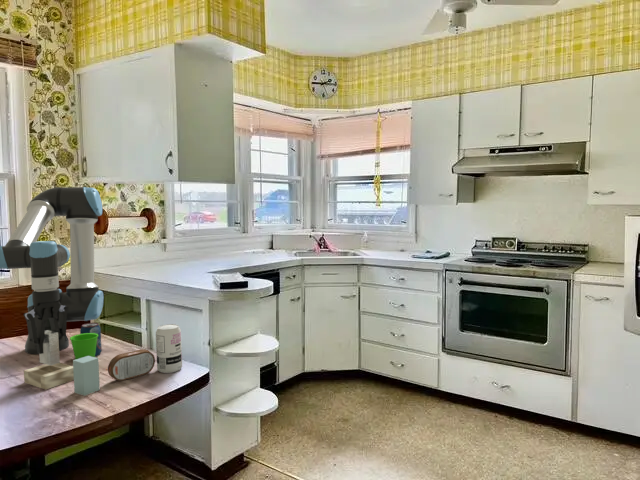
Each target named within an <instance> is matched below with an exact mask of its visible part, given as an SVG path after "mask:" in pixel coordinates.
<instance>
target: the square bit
mask: <svg viewBox="0 0 640 480" xmlns="http://www.w3.org/2000/svg"><path fill="white" fill-rule="evenodd" d="M72 366H73V372H74V380H73V386H74V388H73V389H74V391H73V392H74V393H75V394H76V395H77V394H78V395H81V396H85V397H86V396H88V395H91V394H93V393H95V391H96V392H98V391H100V390H101V388H100V387H101V386H100V384H101V383H100V368H99V366H100V365H99V357H91V356H86V357H82V358H79V359H76V360H75V359H73V360H72ZM90 393H91V394H90Z"/></svg>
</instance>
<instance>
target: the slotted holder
mask: <svg viewBox="0 0 640 480" xmlns="http://www.w3.org/2000/svg"><path fill="white" fill-rule="evenodd" d="M23 378H24V381H23V382H24V383H25V384H28V385H31V386H33V387H37V388H39V389H43V390H49V389H51V388H54V387H57V386H60V385H63V384H66V383H69V382H72V381H74V372H73V365H70V364H66V363H62V362H60V363H57V364H54V365H51V366H50V365H47V364H41V365H38V366H35V367H32V368H27V369H24V370H23Z"/></svg>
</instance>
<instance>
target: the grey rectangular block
mask: <svg viewBox="0 0 640 480" xmlns="http://www.w3.org/2000/svg"><path fill="white" fill-rule="evenodd" d="M44 343H46V347H47V363H46V364H47V365H50V366H51V365H54V364H57V363H61V361H60V350H59V339H58V332H54V331H49V330H46V331H45V334H44ZM38 355H39V358H40V354H38ZM39 363H40V364H42V365H44V363H41V362H40V361H39Z"/></svg>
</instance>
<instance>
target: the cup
mask: <svg viewBox="0 0 640 480" xmlns="http://www.w3.org/2000/svg"><path fill="white" fill-rule="evenodd" d="M98 336H99V335H98V334H96V333H84V334H80V333H79V334H74V335H72V336H70V337H69V340H70V342H71V345H72V346H71V347H72V350H73V354H74V358H75V359H74V360H76V359H79V358H82V357H86V356H91V357H95V352H96V344H97V337H98ZM95 358H96V357H95Z"/></svg>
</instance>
